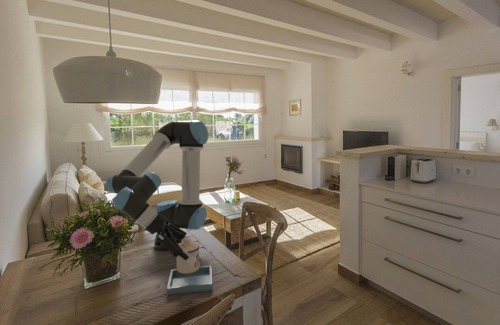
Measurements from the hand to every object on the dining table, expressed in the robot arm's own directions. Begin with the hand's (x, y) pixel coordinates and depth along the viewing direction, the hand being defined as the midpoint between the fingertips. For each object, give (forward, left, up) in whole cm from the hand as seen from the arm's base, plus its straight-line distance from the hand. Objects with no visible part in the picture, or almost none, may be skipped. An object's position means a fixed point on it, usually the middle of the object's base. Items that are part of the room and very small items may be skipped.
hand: (195, 254), depth 108 cm
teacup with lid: (0, -3, -5) cm, 5 cm away
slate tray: (-1, -2, -12) cm, 12 cm away
